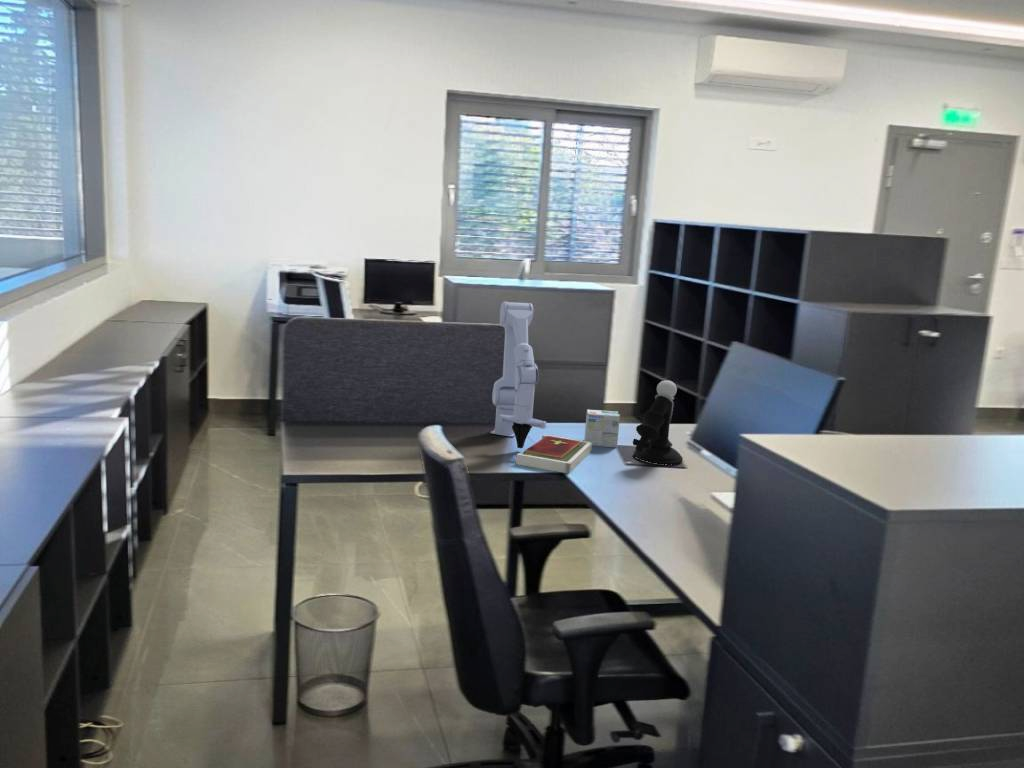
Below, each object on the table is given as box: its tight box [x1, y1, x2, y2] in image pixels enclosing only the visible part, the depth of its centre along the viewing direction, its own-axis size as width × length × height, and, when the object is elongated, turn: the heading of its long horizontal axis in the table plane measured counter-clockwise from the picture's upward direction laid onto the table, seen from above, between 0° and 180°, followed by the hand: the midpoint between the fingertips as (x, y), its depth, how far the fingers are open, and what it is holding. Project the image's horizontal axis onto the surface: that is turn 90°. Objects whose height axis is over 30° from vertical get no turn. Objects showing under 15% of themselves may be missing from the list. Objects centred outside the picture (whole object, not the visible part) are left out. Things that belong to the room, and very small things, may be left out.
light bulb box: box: [583, 409, 621, 448], centre depth 280 cm, size 11×7×11 cm, turn 89°
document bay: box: [515, 434, 593, 474], centre depth 261 cm, size 26×16×3 cm, turn 161°
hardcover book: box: [522, 434, 583, 462], centre depth 262 cm, size 12×21×4 cm, turn 159°
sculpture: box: [632, 379, 684, 466], centre depth 264 cm, size 15×24×25 cm, turn 147°
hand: (520, 447), depth 265 cm, fingers closed
